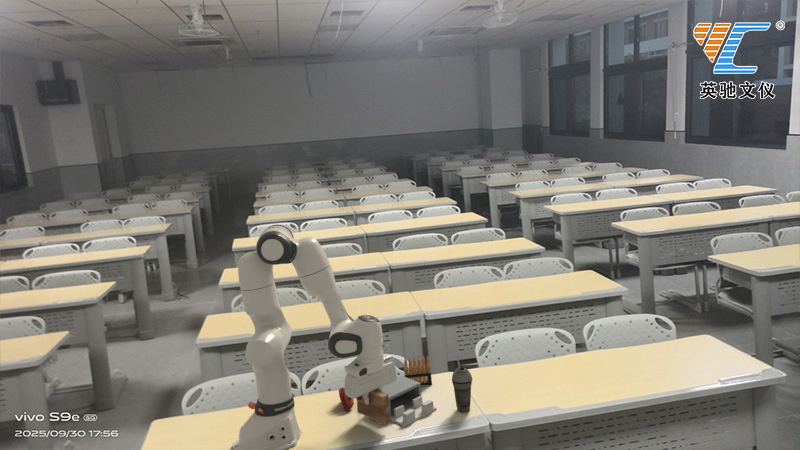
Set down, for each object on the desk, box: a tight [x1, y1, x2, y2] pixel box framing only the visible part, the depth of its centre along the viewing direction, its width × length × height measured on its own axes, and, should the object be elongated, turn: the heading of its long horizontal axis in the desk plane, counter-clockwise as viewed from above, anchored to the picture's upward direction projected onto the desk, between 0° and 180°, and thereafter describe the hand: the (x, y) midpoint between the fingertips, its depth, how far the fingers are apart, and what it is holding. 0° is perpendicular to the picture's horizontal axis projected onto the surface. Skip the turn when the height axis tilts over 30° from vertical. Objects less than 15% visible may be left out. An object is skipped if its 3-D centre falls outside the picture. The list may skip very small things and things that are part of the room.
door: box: [355, 389, 391, 426], centre depth 201 cm, size 4×14×10 cm, turn 43°
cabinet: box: [382, 375, 437, 427], centre depth 212 cm, size 16×18×8 cm
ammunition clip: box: [403, 355, 433, 387], centre depth 232 cm, size 11×2×12 cm, turn 96°
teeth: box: [338, 387, 355, 412], centre depth 219 cm, size 10×8×15 cm
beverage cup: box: [451, 355, 473, 414], centre depth 208 cm, size 7×7×20 cm
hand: (372, 401), depth 201 cm, fingers closed on door, 2 cm apart
